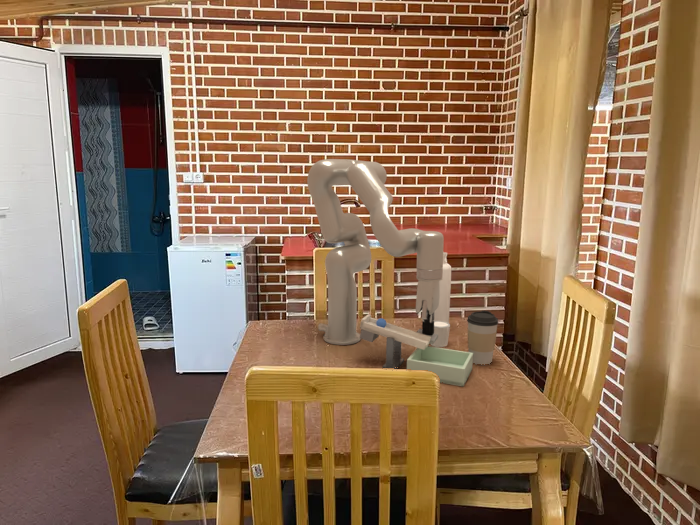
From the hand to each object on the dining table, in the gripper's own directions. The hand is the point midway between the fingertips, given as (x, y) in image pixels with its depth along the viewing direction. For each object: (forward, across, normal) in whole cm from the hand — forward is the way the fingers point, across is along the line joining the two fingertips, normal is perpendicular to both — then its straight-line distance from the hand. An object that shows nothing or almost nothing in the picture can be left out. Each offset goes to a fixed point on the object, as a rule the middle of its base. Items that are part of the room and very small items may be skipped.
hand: (428, 334), depth 154 cm
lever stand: (+9, +6, -9) cm, 14 cm away
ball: (-4, +6, -13) cm, 14 cm away
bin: (+9, +6, +5) cm, 12 cm away
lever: (+3, +3, -9) cm, 10 cm away
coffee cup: (+9, -8, +14) cm, 19 cm away
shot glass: (+9, -17, -1) cm, 19 cm away
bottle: (+9, -31, -5) cm, 33 cm away
